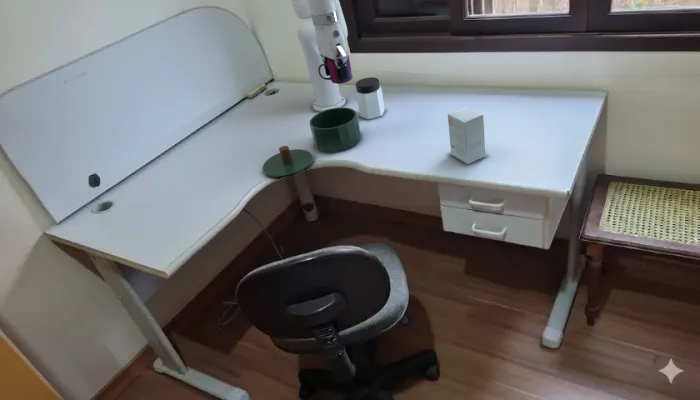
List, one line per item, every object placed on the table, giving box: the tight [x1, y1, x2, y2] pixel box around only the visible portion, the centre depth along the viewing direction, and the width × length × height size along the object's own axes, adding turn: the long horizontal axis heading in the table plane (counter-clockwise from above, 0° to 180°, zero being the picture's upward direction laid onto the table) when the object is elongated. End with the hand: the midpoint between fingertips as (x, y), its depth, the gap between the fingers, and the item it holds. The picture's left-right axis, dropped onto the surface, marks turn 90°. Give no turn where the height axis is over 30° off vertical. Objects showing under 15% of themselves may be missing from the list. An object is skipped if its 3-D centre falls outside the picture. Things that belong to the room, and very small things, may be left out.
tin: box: [309, 107, 362, 154], centre depth 168 cm, size 15×15×8 cm
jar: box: [355, 76, 386, 120], centre depth 180 cm, size 9×8×12 cm
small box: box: [447, 106, 486, 165], centre depth 144 cm, size 8×6×13 cm
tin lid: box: [262, 145, 314, 178], centre depth 161 cm, size 16×16×6 cm
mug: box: [318, 54, 354, 85], centre depth 158 cm, size 7×10×7 cm
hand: (336, 76), depth 159 cm, fingers closed on mug, 6 cm apart
